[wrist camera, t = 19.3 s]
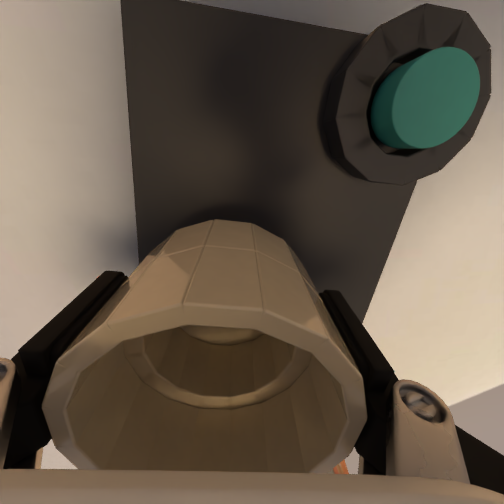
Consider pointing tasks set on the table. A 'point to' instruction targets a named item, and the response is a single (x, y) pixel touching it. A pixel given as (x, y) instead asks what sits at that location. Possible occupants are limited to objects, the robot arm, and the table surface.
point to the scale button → (426, 99)
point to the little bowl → (209, 365)
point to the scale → (281, 129)
